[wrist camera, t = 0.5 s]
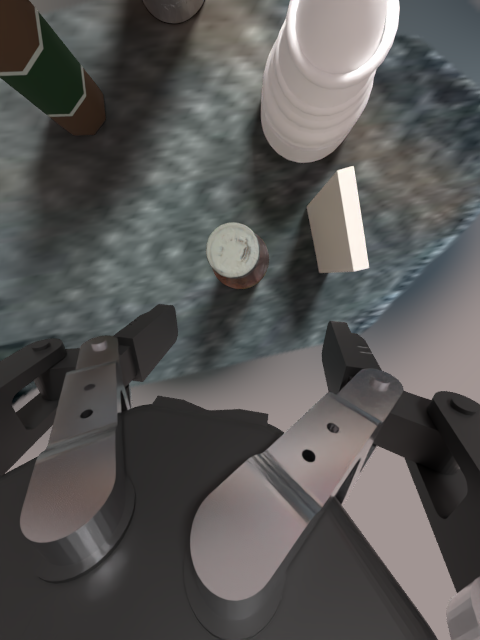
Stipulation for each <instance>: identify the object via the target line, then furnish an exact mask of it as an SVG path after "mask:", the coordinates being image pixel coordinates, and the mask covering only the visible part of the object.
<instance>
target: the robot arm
mask: <svg viewBox="0 0 480 640" xmlns="http://www.w3.org/2000/svg"><path fill="white" fill-rule="evenodd" d="M143 2H144V5H145V6H146V7H147V9H148V10H149V12H150V13H152V14H153V15H154V16H155V17H156V18H158V19H159V20H161V21H164V22H167V23H180V22H184V21H186V20H188V19H190V18H191V17H192V16H193V15H195V14H196V13H197V11H198V10H199V9H200V7H201V6H202V4H203V2H204V0H143ZM177 336H178V328H177V320H176V312H175V308H174V306H173V305H164V304H158V305H157V306H156V307H154V308H153V309H152V310H150V311H149V312H147V313H145V314H143V315H140V316H139V317H137V318H136V319H135V320H134V321H132V322H131V323H130V324H129V325H127V326H126V327H124V328H123V329H122V330H120V331H119V332H118V333H116V334H115V335H114V336H99V337H95V338H92V339H90V340H88V341H86V342H85V343H83V344H82V345H81V347H80V348H76V349H65V347H64V345H63V342H62V340H60V339H45V340H41V341H37V342H34V343H32V344H30V345H28V346H26V347H24V348H22V349H21V350H19V351H17V352H16V353H14V354H12V355H10V356H9V357H7V358H5V359H4V360H2V361H0V640H438V639H437V638H436V636H435V634H434V632H433V631H432V629H431V628H430V626H429V625H428V623H427V622H426V621H425V619H424V618H423V616H422V615H421V613H420V612H419V611H418V609H417V608H416V607H415V605H414V604H413V602H412V601H411V600H410V598H409V597H408V596H407V594H406V593H405V592H404V590H403V589H402V587H401V586H400V585H399V583H398V582H397V581H396V579H395V578H394V577H393V575H392V574H391V572H390V571H389V570H388V568H387V567H386V566H385V564H384V563H383V561H382V560H381V559H380V557H379V556H378V555H377V553H376V552H375V550H374V549H373V548H372V546H371V545H370V544H369V542H368V541H367V540H366V538H365V537H364V535H363V534H362V533H361V531H360V530H359V528H358V527H357V526H356V525H355V523H354V522H353V520H352V519H351V518H350V516H349V515H348V513H347V512H346V511H345V509H344V508H343V505H344V503H345V502H346V500H347V498H348V496H349V494H350V493H351V491H352V489H353V487H354V485H355V483H356V481H357V480H358V478H359V476H360V475H361V473H362V472H363V469H364V468H365V467H366V465H367V463H368V462H369V460H370V459H371V457H372V455H373V454H374V452H375V450H376V449H377V447H378V446H379V447H382V448H384V449H386V450H389V451H391V452H393V453H395V454H398V455H400V456H403V457H405V460H406V463H407V465H408V468H409V470H410V473H411V476H412V478H413V481H414V483H415V486H416V489H417V491H418V493H419V496H420V499H421V501H422V504H423V507H424V509H425V512H426V514H427V517H428V520H429V522H430V525H431V527H432V530H433V532H434V535H435V537H436V540H437V543H438V545H439V548H440V550H441V553H442V555H443V558H444V561H445V563H446V566H447V568H448V571H449V574H450V576H451V579H452V581H453V584H454V587H455V589H456V592H457V594H456V595H455V596H454V597H452V598H451V599H450V600H449V602H448V605H447V612H446V615H447V624H448V628H449V632H450V637H451V640H480V405H479V404H478V403H476V402H475V401H473V400H471V399H470V398H467V397H465V396H462V395H460V394H457V393H453V392H447V391H441V392H437V393H436V394H435V395H434V397H433V398H432V400H429V399H426V398H423V397H420V396H417V395H414V394H411V393H408V392H406V391H403V386H402V384H401V383H400V382H399V380H398V379H396V378H395V377H394V376H392V375H391V374H389V373H387V372H384V371H382V370H381V368H380V367H379V365H378V363H377V361H376V359H375V357H374V356H373V354H372V352H371V350H370V348H369V347H368V345H367V343H366V341H365V340H364V339H363V338H362V337H360V336H359V335H358V334H355V333H351V331H350V329H349V327H348V325H347V323H345V322H335V321H329V323H328V326H327V330H326V335H325V340H324V344H323V350H322V362H323V367H324V371H325V377H326V381H327V386H328V391H329V392H328V393H327V394H325V395H324V396H323V397H322V398H321V399H320V400H319V401H318V402H317V403H316V404H315V405H314V406H313V407H312V408H311V409H309V410H308V412H306V413H305V414H304V415H303V416H302V417H301V418H300V419H299V420H298V421H297V422H296V423H295V424H294V425H293V426H291V427H290V428H289V429H288V430H287V431H286V432H285V433H284V432H282V431H281V430H280V429H278V428H276V427H274V426H272V425H270V424H268V423H267V420H268V414H265V413H259V412H253V411H247V410H241V409H234V410H212V411H211V410H206V409H203V408H201V407H199V406H196V405H194V404H192V403H189V402H187V401H185V400H181V399H175V398H169V397H162V396H157V398H156V399H155V401H154V402H153V404H149V405H142V406H138V407H134V408H133V407H132V398H131V388H130V385H129V383H130V382H131V381H132V380H133V381H140V382H143V381H144V380H145V378H146V377H147V376H148V375H149V374H150V372H151V371H152V370H153V369H154V367H155V366H156V365H157V364H158V363H159V361H160V360H161V359H162V358H163V356H164V355H165V354H166V353H167V352H168V350H169V349H170V348H171V347H172V345H173V344H174V343H175V342H176V340H177ZM33 380H34V382H35V384H36V386H37V388H38V390H39V392H40V393H39V394H38V395H37V396H36V397H35V398H34V399H32V400H31V401H30V402H28V403H27V404H26V405H25V406H24V407H23V408H21V409H20V410H19V411H17V412H15V411H14V409H13V408H12V399H13V397H14V396H15V394H16V393H17V392H19V391H20V390H21V389H23V388H24V387H25V386H27V385H28V384H29V383H31V382H32V381H33ZM52 425H53V427H52V431H51V434H50V438H49V443H48V446H47V448H46V450H45V451H43V452H42V453H41V454H40V455H39V456H38V457H36V458H34V459H32V460H30V461H28V462H27V463H25V464H23V465H21V466H19V467H17V468H15V469H13V470H11V471H9V472H8V473H6V474H5V472H7V471H8V470H9V469H10V468H11V467H12V466H13V465H14V464H15V463H16V461H18V459H19V458H20V457H21V456H22V455H23V454H24V453H25V452H26V451H27V450H28V449H29V448H30V447H31V446H32V445H33V444H34V443H35V442H36V441H37V440H38V439H39V438H40V437H41V436H42V435H43V434H44V433H45V432H46V431H47V430H48V429H49V428H50V427H51V426H52Z"/></svg>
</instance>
